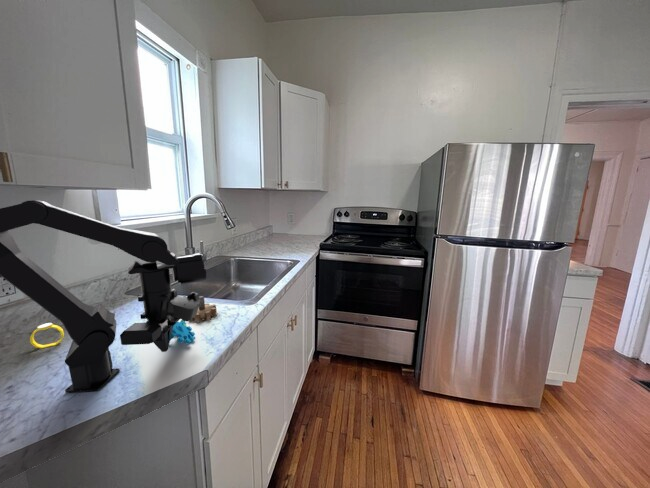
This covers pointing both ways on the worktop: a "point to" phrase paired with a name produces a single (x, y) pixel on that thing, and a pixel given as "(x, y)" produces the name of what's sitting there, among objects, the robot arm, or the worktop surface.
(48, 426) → the worktop surface
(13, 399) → the worktop surface
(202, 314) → the gear
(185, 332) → the gear
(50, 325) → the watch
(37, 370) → the worktop surface
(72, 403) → the worktop surface
